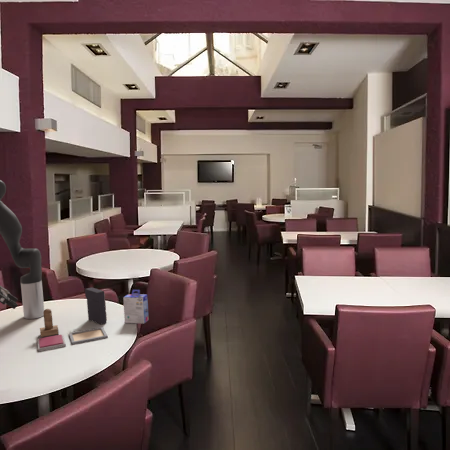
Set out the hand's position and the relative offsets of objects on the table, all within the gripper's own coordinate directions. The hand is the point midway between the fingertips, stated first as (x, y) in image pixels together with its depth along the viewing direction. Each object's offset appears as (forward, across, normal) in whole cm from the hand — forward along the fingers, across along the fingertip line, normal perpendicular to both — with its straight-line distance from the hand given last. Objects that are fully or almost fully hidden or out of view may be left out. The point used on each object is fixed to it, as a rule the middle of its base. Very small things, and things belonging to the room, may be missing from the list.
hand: (16, 304), depth 178 cm
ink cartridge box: (+45, -3, -23) cm, 51 cm away
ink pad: (+19, -11, +3) cm, 22 cm away
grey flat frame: (+29, -10, -7) cm, 32 cm away
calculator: (+34, +7, -12) cm, 37 cm away
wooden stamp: (+19, 0, +3) cm, 19 cm away
